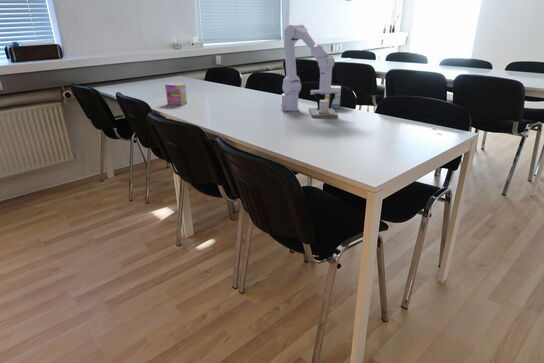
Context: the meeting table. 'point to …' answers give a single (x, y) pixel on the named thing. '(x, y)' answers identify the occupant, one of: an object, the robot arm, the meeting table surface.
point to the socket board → (315, 114)
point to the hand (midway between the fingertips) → (324, 108)
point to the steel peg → (324, 106)
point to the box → (176, 94)
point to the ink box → (337, 97)
